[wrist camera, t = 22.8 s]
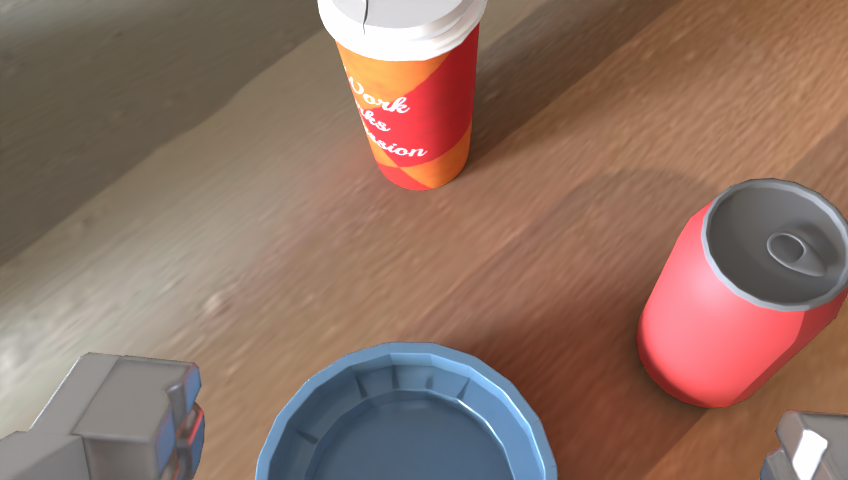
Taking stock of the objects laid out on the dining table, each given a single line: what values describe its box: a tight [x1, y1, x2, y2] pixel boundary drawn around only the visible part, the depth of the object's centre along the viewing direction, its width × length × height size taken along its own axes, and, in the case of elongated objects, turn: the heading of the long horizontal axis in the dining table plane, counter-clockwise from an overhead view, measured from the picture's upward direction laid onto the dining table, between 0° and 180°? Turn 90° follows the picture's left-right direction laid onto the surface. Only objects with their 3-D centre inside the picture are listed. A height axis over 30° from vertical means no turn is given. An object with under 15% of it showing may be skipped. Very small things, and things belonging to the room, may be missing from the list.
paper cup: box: [318, 0, 488, 190], centre depth 40 cm, size 8×8×14 cm
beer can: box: [636, 178, 848, 408], centre depth 34 cm, size 7×7×12 cm
